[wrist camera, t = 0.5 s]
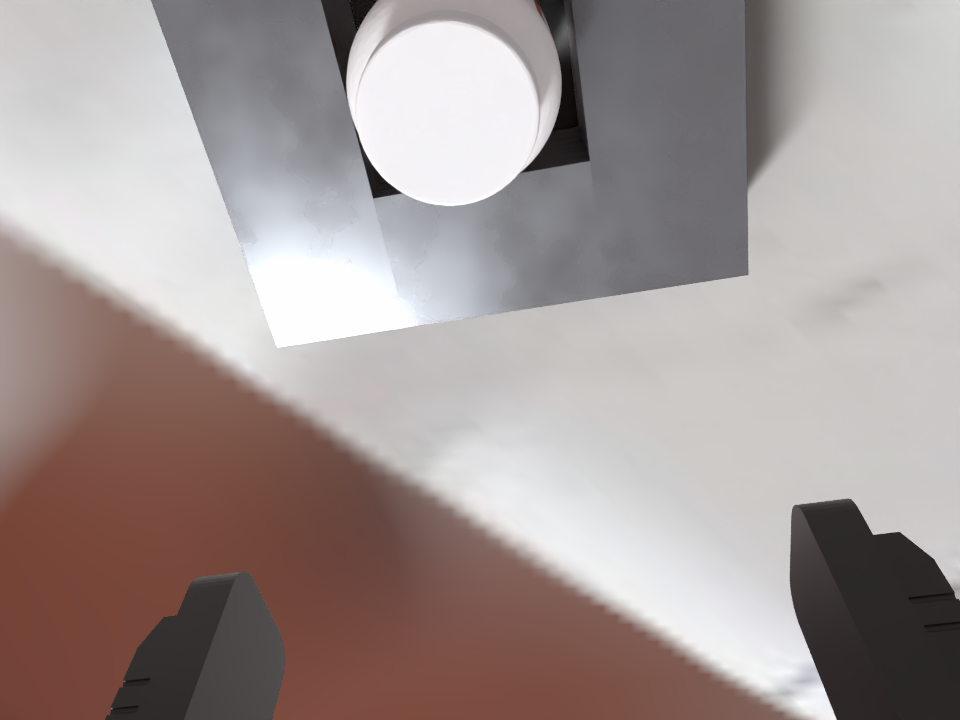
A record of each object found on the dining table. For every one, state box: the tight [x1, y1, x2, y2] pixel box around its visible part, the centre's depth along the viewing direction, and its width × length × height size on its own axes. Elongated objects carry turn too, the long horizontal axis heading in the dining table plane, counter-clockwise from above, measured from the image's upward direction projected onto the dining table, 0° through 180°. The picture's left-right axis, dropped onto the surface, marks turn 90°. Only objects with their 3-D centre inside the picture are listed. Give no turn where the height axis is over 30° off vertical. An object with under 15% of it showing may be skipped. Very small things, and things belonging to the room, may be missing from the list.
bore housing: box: [151, 0, 748, 347], centre depth 27 cm, size 18×18×4 cm
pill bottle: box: [346, 0, 562, 206], centre depth 25 cm, size 6×6×11 cm
